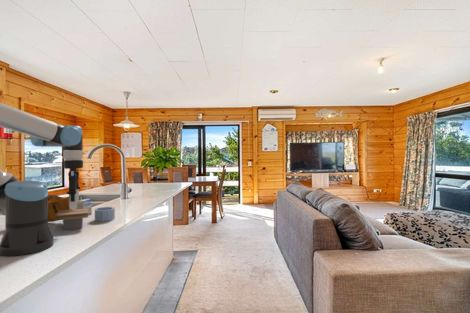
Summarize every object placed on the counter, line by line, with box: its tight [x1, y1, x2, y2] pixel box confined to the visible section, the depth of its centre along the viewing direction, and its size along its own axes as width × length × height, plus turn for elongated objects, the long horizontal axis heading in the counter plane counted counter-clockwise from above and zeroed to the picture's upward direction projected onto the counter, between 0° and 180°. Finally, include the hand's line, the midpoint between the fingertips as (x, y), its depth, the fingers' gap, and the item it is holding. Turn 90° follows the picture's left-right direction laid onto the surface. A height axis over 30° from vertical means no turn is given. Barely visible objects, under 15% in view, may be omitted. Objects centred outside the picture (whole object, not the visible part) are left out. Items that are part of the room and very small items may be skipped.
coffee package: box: [48, 193, 72, 223], centre depth 124 cm, size 10×12×22 cm
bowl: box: [94, 206, 116, 222], centre depth 132 cm, size 9×9×6 cm
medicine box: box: [77, 198, 93, 216], centre depth 140 cm, size 8×4×9 cm, turn 179°
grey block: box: [62, 218, 84, 231], centre depth 118 cm, size 7×7×5 cm
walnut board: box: [55, 208, 89, 222], centre depth 118 cm, size 12×12×2 cm
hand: (74, 206), depth 118 cm, fingers open, 13 cm apart
